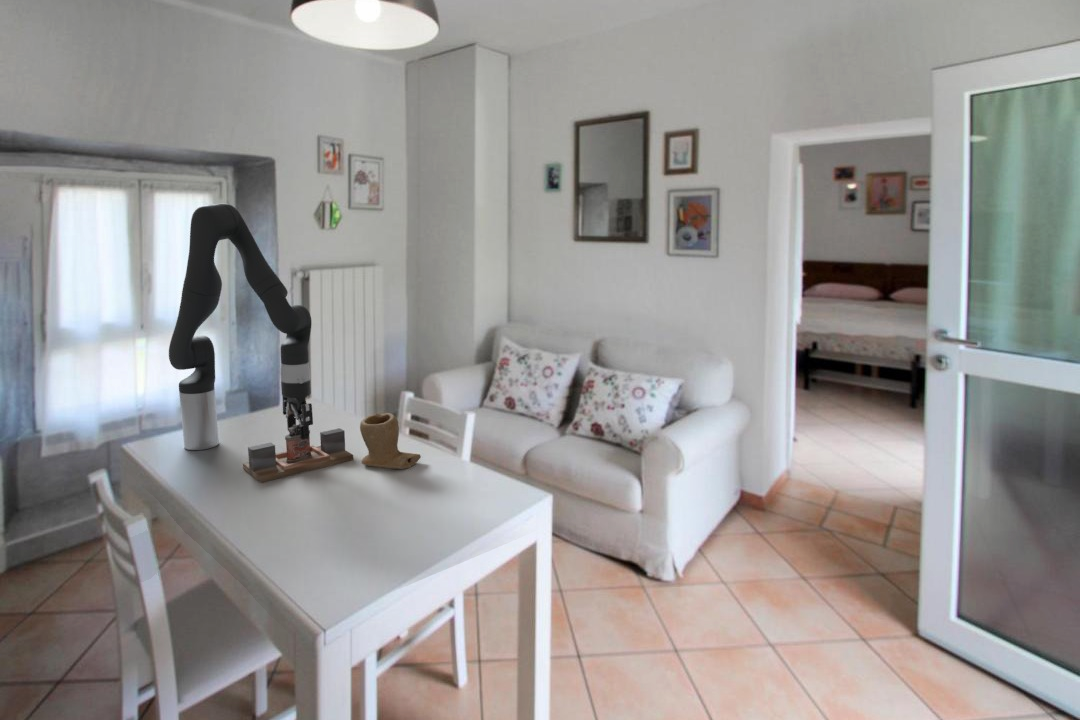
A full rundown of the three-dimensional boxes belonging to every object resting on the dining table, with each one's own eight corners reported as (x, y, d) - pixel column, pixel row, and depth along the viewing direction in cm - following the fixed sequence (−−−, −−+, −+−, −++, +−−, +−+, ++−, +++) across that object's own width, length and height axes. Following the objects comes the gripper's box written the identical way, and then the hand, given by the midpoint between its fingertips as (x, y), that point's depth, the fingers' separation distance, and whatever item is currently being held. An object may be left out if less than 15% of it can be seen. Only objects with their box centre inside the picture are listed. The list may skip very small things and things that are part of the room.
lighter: (292, 464, 170) (290, 429, 168) (283, 462, 171) (281, 427, 169) (314, 455, 177) (312, 421, 175) (304, 453, 179) (303, 420, 177)
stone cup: (352, 470, 171) (350, 418, 168) (375, 455, 183) (373, 406, 180) (401, 477, 167) (400, 424, 164) (421, 462, 178) (421, 412, 175)
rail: (243, 468, 170) (241, 442, 169) (333, 447, 188) (332, 424, 187) (260, 482, 161) (259, 455, 160) (353, 459, 179) (352, 434, 177)
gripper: (271, 375, 172) (274, 431, 176) (292, 385, 162) (295, 444, 166) (298, 371, 177) (300, 426, 181) (320, 381, 167) (322, 438, 171)
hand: (298, 434), depth 173 cm, fingers open, 8 cm apart
